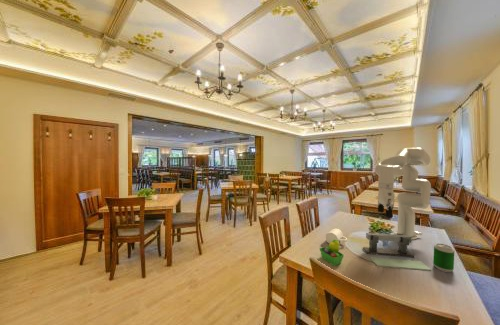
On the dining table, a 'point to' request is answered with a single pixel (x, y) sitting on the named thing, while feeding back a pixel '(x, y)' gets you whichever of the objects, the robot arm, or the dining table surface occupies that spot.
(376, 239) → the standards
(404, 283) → the dining table surface
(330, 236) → the mug
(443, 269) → the soda can
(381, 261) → the mat
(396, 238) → the rail
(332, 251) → the fruit basket
